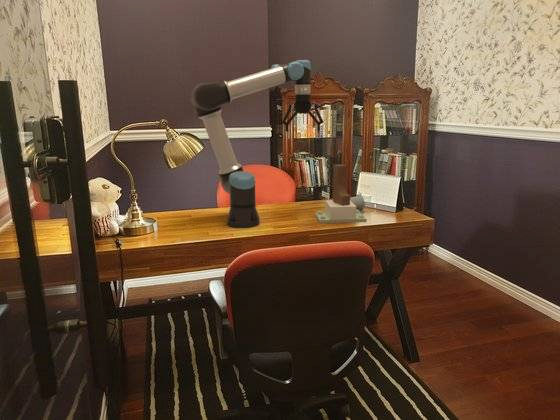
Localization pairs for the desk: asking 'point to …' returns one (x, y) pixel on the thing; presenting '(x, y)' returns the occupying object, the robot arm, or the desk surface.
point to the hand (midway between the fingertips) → (302, 138)
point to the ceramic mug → (358, 203)
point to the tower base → (326, 220)
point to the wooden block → (340, 185)
